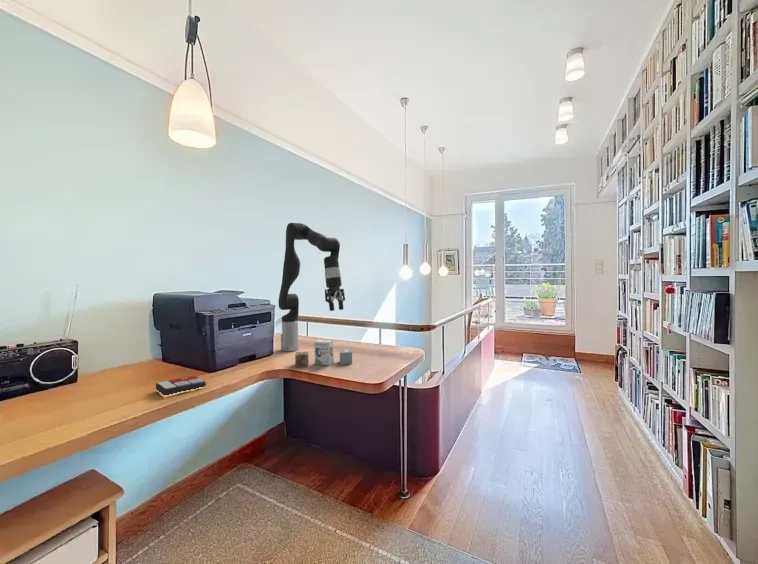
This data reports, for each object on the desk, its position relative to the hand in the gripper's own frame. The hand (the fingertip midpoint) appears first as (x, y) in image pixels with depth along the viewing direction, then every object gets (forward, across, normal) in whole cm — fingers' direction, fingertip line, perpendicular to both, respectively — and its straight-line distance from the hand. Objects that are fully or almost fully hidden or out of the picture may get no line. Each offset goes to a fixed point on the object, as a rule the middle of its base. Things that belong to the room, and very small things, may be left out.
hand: (336, 310), depth 170 cm
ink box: (+26, -3, -13) cm, 29 cm away
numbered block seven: (+27, -9, -4) cm, 29 cm away
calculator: (+25, +51, -45) cm, 73 cm away
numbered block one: (+25, +3, -22) cm, 33 cm away
